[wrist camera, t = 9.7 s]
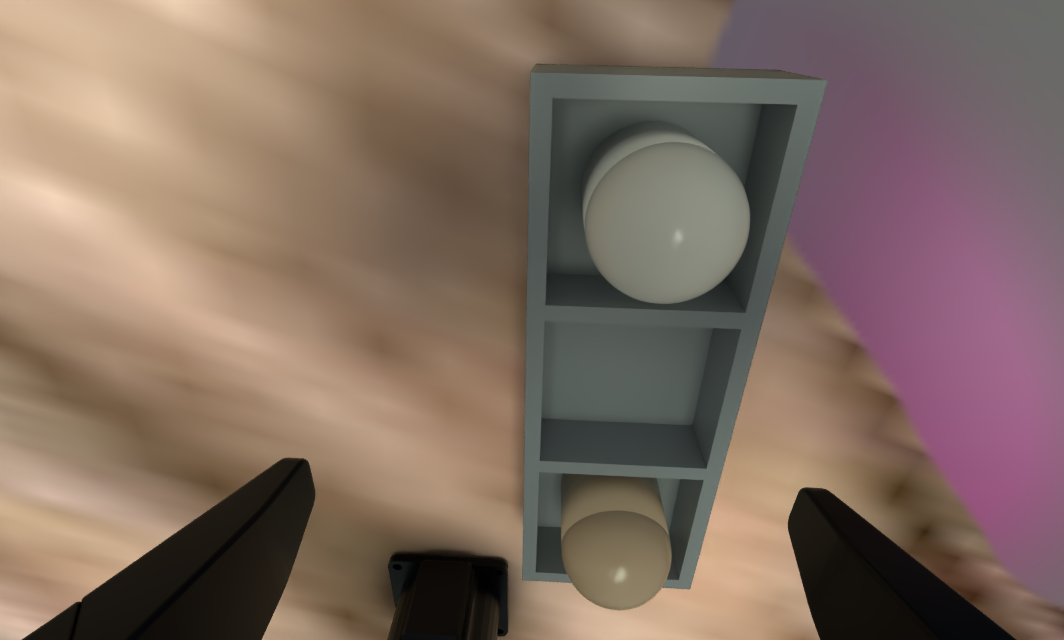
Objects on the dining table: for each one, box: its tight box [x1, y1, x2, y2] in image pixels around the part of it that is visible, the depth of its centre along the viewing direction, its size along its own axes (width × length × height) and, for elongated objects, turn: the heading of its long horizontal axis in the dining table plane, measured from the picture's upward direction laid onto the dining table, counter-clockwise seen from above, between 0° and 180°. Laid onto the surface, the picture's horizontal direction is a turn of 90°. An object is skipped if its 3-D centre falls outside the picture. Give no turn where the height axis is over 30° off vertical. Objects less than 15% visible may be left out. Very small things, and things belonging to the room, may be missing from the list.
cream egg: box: [580, 121, 750, 304], centre depth 15 cm, size 4×4×6 cm
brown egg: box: [561, 473, 672, 610], centre depth 22 cm, size 4×4×6 cm
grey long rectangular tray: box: [522, 64, 827, 589], centre depth 20 cm, size 21×8×4 cm, turn 179°
